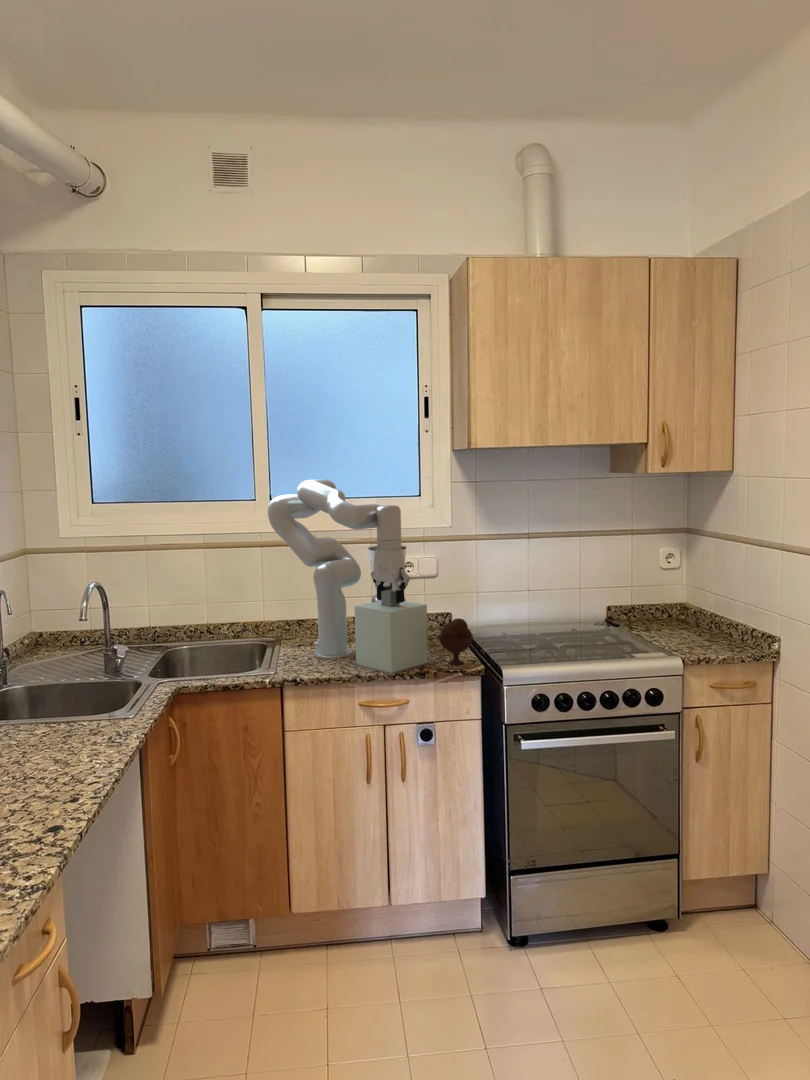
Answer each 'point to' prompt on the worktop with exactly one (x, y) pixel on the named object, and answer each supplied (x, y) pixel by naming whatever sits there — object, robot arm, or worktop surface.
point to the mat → (393, 672)
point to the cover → (391, 634)
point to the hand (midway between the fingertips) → (390, 600)
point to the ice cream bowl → (455, 639)
